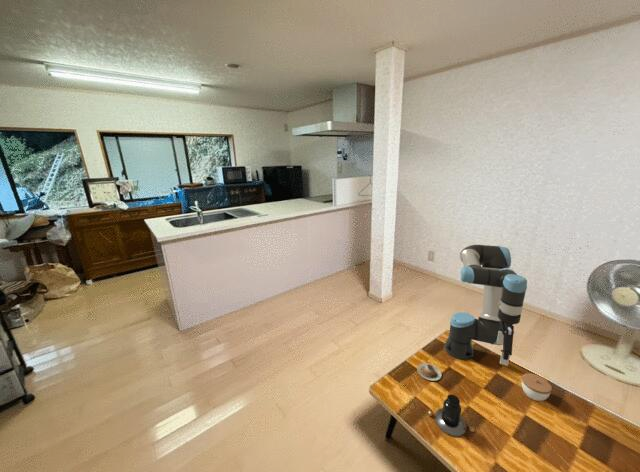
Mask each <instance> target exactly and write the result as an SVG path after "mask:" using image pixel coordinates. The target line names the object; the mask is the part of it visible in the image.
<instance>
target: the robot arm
mask: <svg viewBox="0 0 640 472" xmlns="http://www.w3.org/2000/svg"><path fill="white" fill-rule="evenodd" d="M459 259H460V261H461V262H462V264H463V266H462V267H461V268H460V269H461V271H460V281H461V283H467V284H471V285H472V284H473V285H479V286H483V293H482V296H483V297H482V306H481V307H482V310H481V314H479V315H478V318H475V316H474V315H472V314H470V313H468V312H463V311H462V312H460V311H459V312H456V313H453V314H452V315H451V318H450V321H449V324H450V325H449V332H448V333H449V334H448V337H447V338H446V341H444V350H445V351H446V353H447V354H448V355H450V356H451V357H453V358H455V359H458V360H463V361H465V360H469V359H472V358H473V357H474V353H475V351H474V346H473V344H472V341H477V342H480V343H481V342H482V343H485V344H486V343H487V344H490V345H496V346H502V349H500V353H501V354H500V360H499V364H500V365H503V366H506V367H508V366H509V362H510V356H512V355H513V343H514V334H515V330H514V327H515V326H514V325H517V324H520V321H521V318H522V317H521V316H522V315H521V314H522V313H523V307H524V301H525V297H526V292H527V289H528V279H526V277H523V276H522V275H519V274H517V273H516V272H515V270H514V269H512V268H510V267H511V266H512V257H511V252H510V250H509V248H507V247H506V246H499V245H488V244H471V245H468V246H466V247H465V248H463V249H461V252H460V253H459Z"/></svg>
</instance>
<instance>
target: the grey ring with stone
mask: <svg viewBox="0 0 640 472" xmlns="http://www.w3.org/2000/svg"><path fill="white" fill-rule="evenodd" d="M417 373H418V375H420V377H422V378H423V379H425V380H426V381H430V382H431V381H432V382H436V381H439V380H441V379H442V376H443V375H442V372H441V370H440V369H439V368H438V367H437V366H436V365H434V364H432V363H427V362H423V363H420V364H419V365H418V366H417Z"/></svg>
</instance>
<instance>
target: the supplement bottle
mask: <svg viewBox="0 0 640 472" xmlns="http://www.w3.org/2000/svg"><path fill="white" fill-rule="evenodd" d="M460 403H461V401H460V398H459V397H458V396H457V395H455V394H448V395H447V397H446V399H444V400H443V405H442V408H443V410H442V420H443V422H444V423H445V424H446V425H447V426H449V427H452V428H455V427H457V426H458V425H459V421H460V416H462V415H461V414H462V407H461V404H460Z"/></svg>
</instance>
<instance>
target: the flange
mask: <svg viewBox="0 0 640 472" xmlns="http://www.w3.org/2000/svg"><path fill="white" fill-rule="evenodd" d="M442 410H443V407H442V408H439V409H437V411H436V412H435V414H434V411H433V410H431V409H429V410H427V415H428V417H430V418H433V417H434V419H435V420H434V421H435V424H436V425H437V427H438V428H439V430H441V431H442V432H443V433H444V434H446V435H447V436H450V437H455V438H456V437H458V438H461V437H463V436H464V435H465V434H466V432H467V422H466V420H465V418H463V416H462V415H461V416H460V421H459V425H458V426H457V427H455V428H452V427H449V426H447V425H446V424H445V423H444V422H443V420H442ZM468 432H469V433H470V434H475V427H474V426H472V425H469V427H468Z"/></svg>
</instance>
